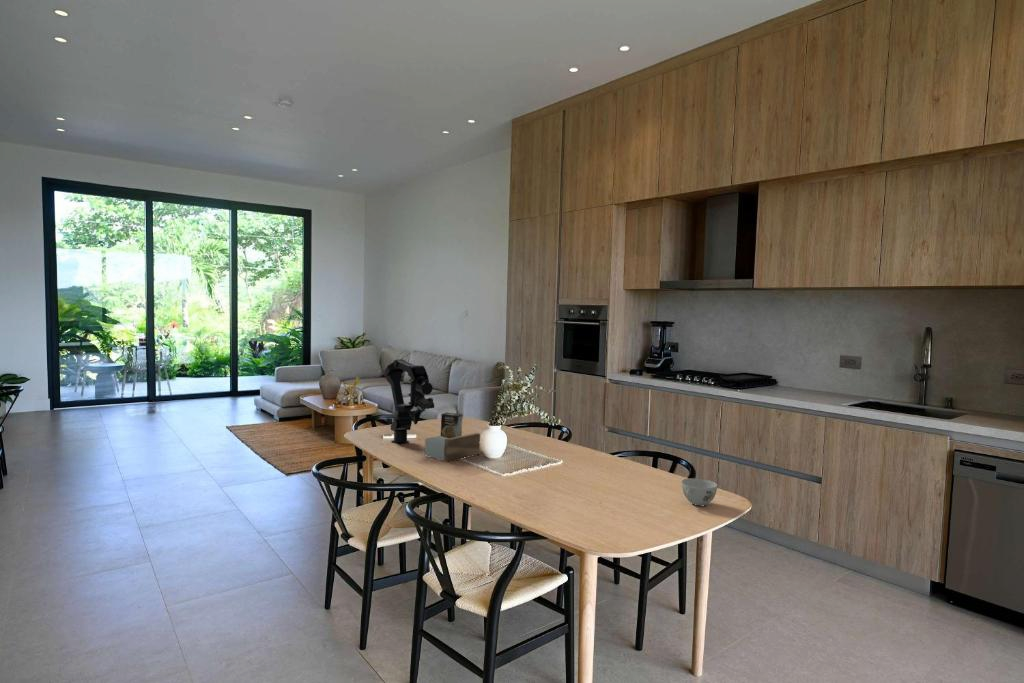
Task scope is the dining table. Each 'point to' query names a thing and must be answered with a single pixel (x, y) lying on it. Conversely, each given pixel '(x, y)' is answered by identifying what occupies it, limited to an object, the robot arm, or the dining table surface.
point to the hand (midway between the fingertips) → (415, 424)
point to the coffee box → (451, 425)
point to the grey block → (435, 447)
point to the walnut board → (461, 447)
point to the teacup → (699, 490)
